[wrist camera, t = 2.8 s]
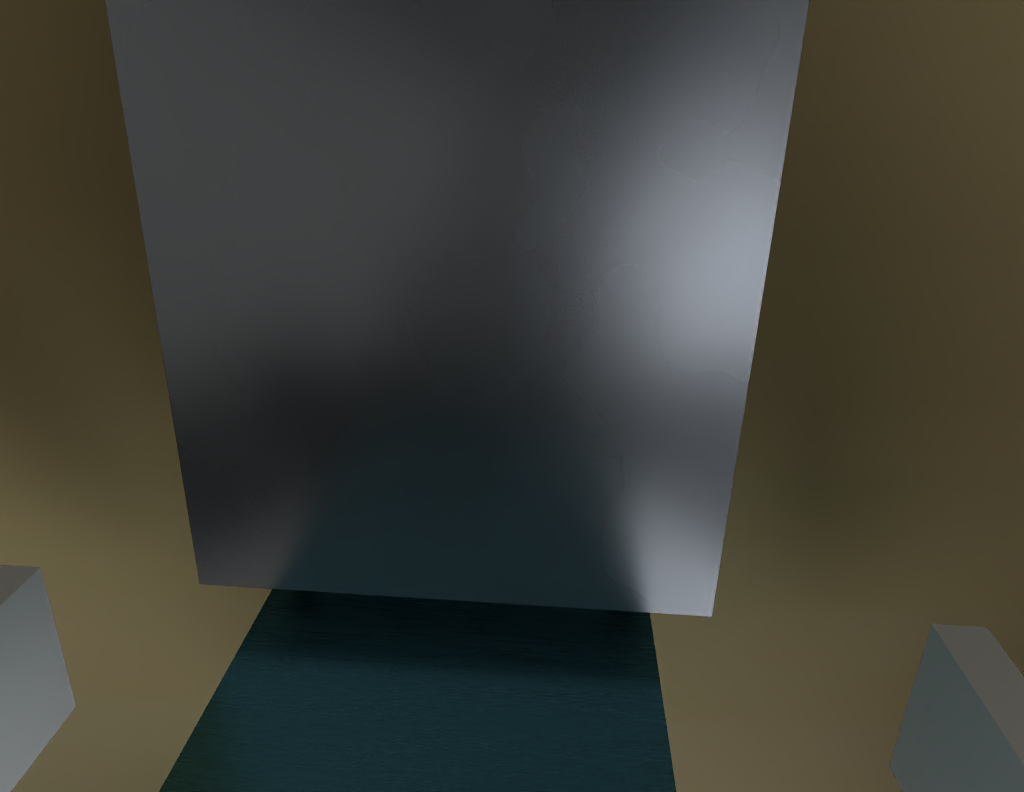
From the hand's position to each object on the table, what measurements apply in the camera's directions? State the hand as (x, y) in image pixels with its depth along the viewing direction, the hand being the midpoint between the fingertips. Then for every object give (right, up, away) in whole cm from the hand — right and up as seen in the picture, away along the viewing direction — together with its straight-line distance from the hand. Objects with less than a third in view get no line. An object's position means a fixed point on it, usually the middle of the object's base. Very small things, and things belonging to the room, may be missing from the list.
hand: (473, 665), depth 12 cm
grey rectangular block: (0, +9, 0) cm, 9 cm away
